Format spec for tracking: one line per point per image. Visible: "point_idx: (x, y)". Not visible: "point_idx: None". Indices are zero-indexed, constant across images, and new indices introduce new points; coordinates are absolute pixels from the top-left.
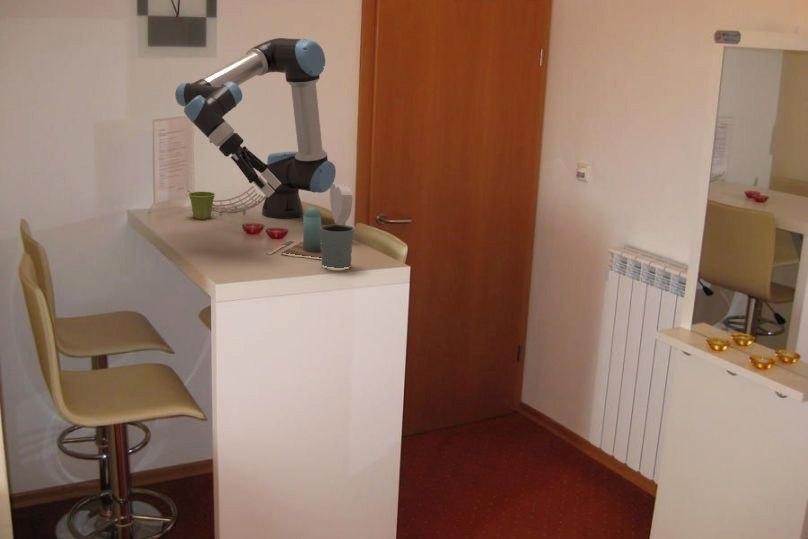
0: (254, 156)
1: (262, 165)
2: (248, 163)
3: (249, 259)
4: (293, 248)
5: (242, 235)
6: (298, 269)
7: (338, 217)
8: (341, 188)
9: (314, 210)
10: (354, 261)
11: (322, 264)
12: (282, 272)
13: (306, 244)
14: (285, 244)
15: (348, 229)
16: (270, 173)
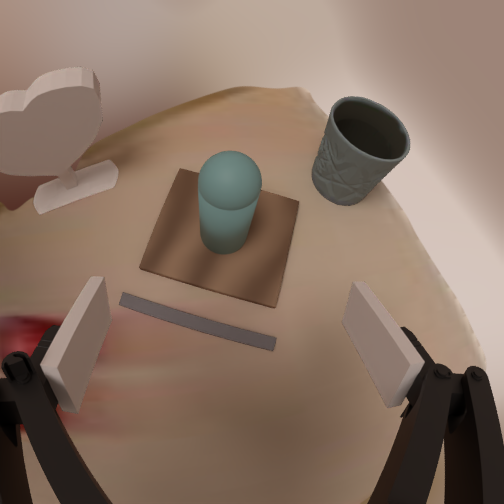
0: (1, 498)
1: (51, 408)
2: (430, 484)
3: (333, 380)
4: (220, 281)
5: (74, 438)
6: (381, 251)
7: (83, 150)
8: (59, 84)
9: (252, 162)
10: (285, 147)
11: (357, 201)
12: (410, 280)
13: (245, 237)
14: (160, 311)
15: (338, 108)
16: (74, 338)
